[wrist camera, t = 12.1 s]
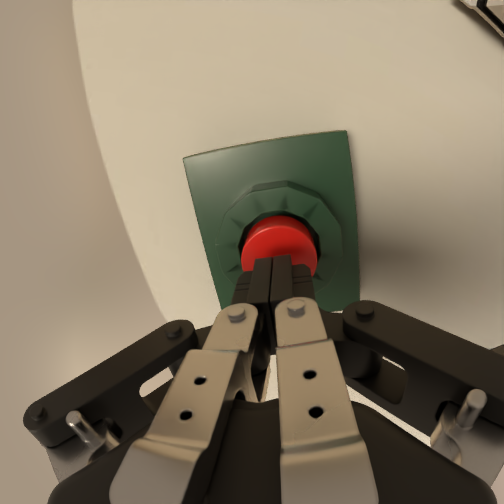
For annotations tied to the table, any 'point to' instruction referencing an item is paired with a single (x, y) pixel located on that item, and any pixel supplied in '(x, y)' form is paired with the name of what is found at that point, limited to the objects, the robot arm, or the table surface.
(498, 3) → the white box device
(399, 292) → the table surface
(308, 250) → the button
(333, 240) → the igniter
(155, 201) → the table surface
